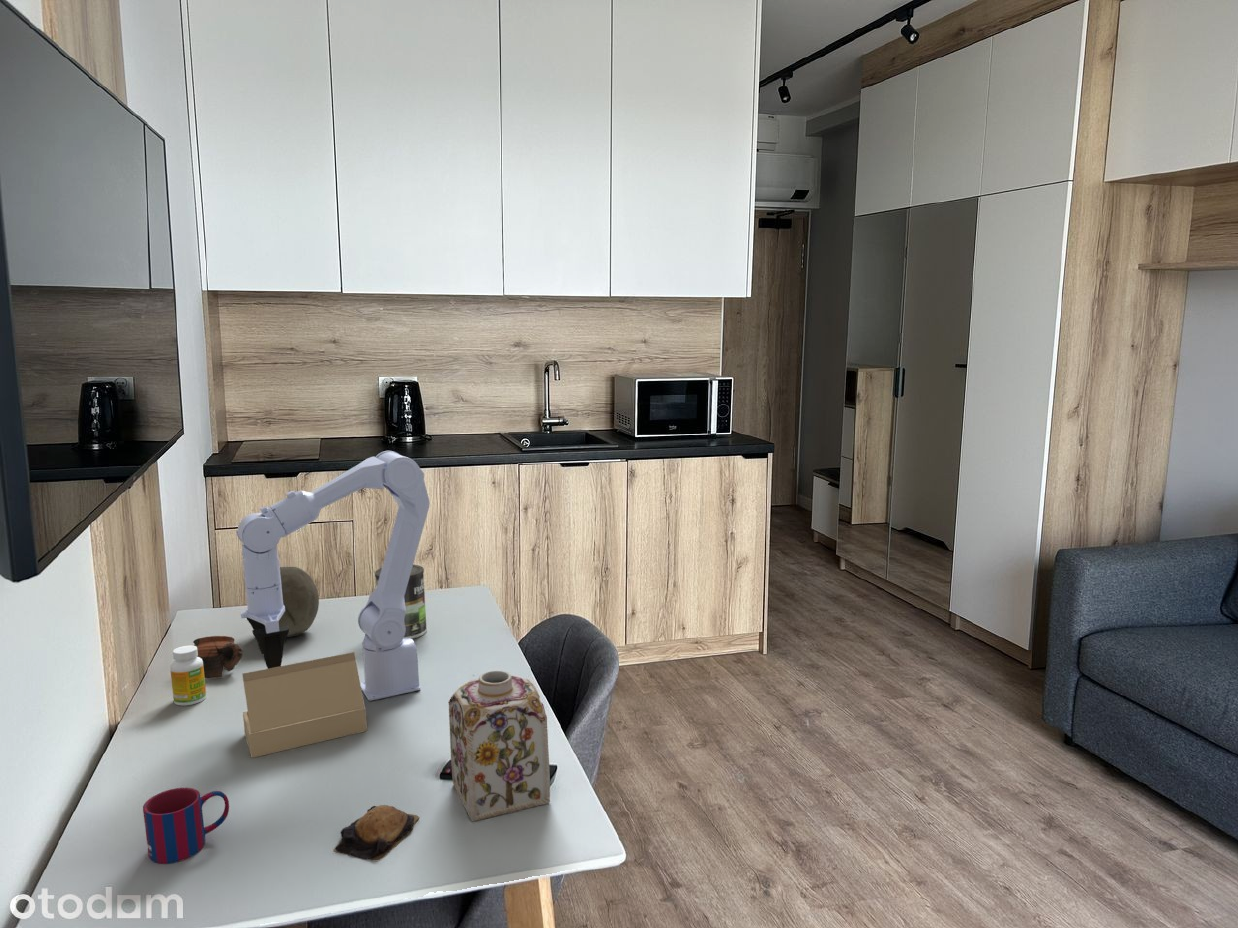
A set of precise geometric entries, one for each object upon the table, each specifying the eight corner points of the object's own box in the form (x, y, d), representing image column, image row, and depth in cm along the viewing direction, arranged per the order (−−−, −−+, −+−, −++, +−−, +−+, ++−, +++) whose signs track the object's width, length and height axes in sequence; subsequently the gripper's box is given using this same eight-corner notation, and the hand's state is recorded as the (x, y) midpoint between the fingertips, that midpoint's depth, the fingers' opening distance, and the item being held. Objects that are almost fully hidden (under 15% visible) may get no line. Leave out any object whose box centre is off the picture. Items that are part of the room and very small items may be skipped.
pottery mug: (176, 682, 172) (178, 640, 174) (212, 686, 180) (214, 645, 183) (226, 672, 168) (227, 629, 171) (261, 676, 177) (262, 635, 179)
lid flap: (353, 652, 152) (354, 651, 151) (364, 707, 149) (364, 706, 148) (242, 674, 144) (242, 673, 143) (250, 733, 140) (251, 732, 140)
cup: (148, 842, 119) (142, 795, 117) (230, 821, 123) (225, 776, 122) (148, 869, 113) (142, 820, 112) (234, 847, 117) (229, 799, 116)
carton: (354, 710, 157) (353, 688, 156) (367, 730, 149) (365, 708, 149) (244, 734, 149) (242, 712, 148) (251, 757, 141) (249, 734, 140)
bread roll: (373, 812, 126) (371, 787, 125) (425, 821, 123) (424, 796, 123) (325, 854, 116) (323, 828, 116) (381, 866, 113) (379, 839, 113)
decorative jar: (451, 783, 132) (445, 668, 129) (526, 766, 137) (522, 655, 134) (471, 824, 121) (464, 700, 118) (552, 805, 126) (548, 684, 123)
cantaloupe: (334, 625, 200) (329, 560, 198) (298, 648, 187) (292, 579, 184) (278, 621, 203) (273, 557, 201) (239, 644, 190) (232, 576, 187)
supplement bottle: (193, 707, 159) (188, 655, 158) (167, 705, 160) (161, 653, 159) (212, 694, 165) (207, 644, 163) (187, 692, 166) (181, 642, 164)
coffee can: (431, 624, 200) (428, 563, 198) (421, 640, 190) (417, 577, 187) (386, 624, 200) (382, 563, 198) (372, 641, 190) (368, 577, 188)
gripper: (233, 577, 156) (241, 650, 158) (243, 599, 144) (251, 679, 146) (275, 570, 159) (283, 642, 162) (289, 592, 147) (296, 670, 149)
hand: (270, 659), depth 154 cm, fingers open, 7 cm apart
